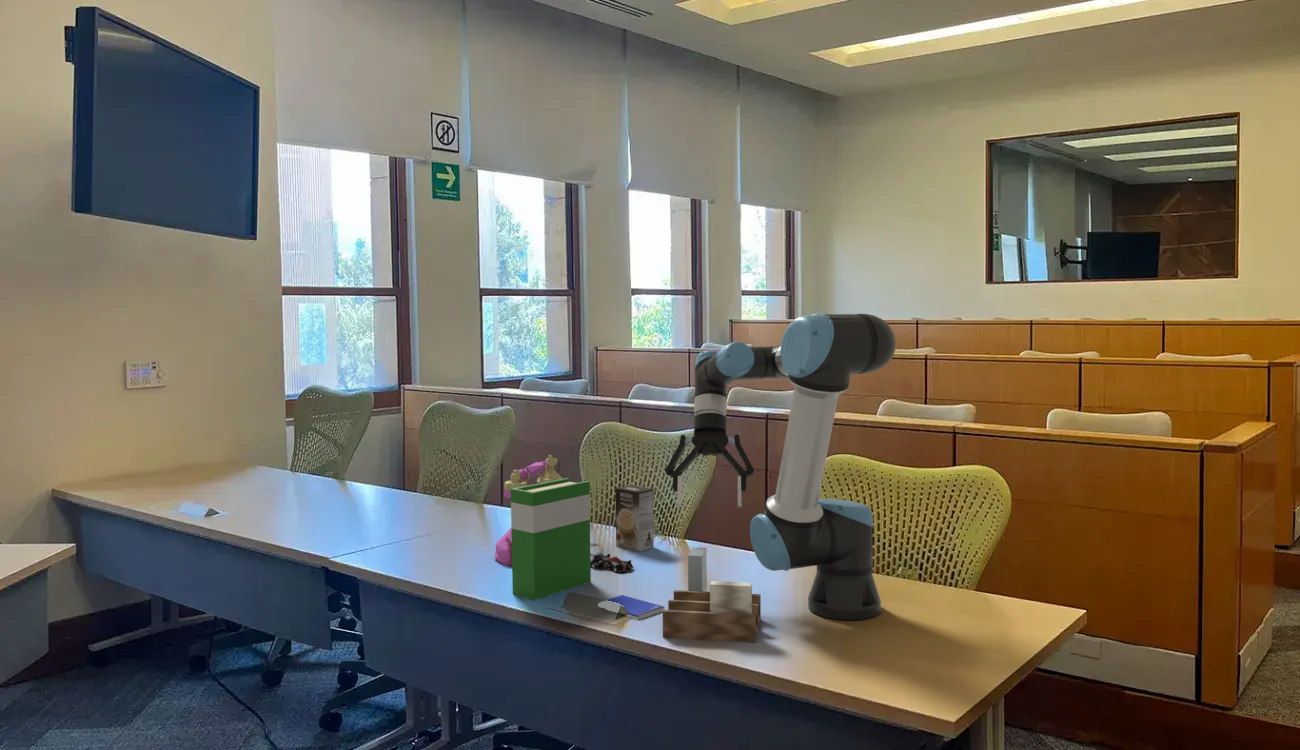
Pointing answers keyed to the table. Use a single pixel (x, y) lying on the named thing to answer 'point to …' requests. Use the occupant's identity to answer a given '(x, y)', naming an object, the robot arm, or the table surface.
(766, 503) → the robot arm
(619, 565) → the toy car
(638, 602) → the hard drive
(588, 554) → the hardback book
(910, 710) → the table surface
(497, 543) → the telephone
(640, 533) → the coffee box
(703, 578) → the grey upright pillar
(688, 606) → the rack
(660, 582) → the table surface
